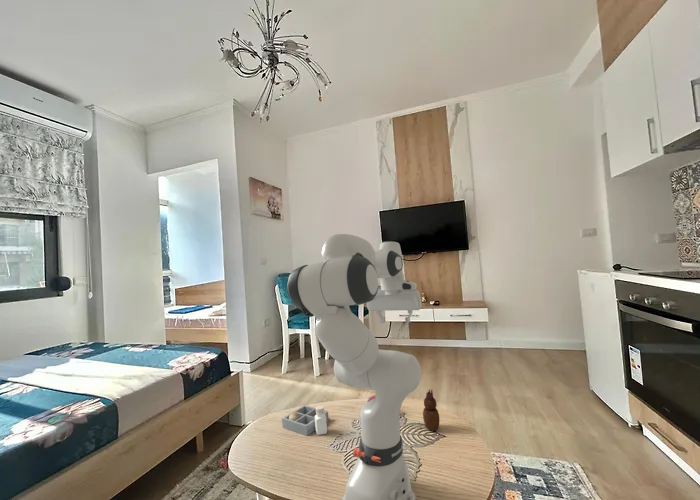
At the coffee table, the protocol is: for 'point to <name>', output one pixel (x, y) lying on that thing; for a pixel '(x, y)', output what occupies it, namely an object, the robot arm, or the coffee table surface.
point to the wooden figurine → (430, 412)
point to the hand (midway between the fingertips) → (395, 322)
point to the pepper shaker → (320, 421)
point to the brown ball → (294, 416)
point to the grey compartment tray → (302, 420)
